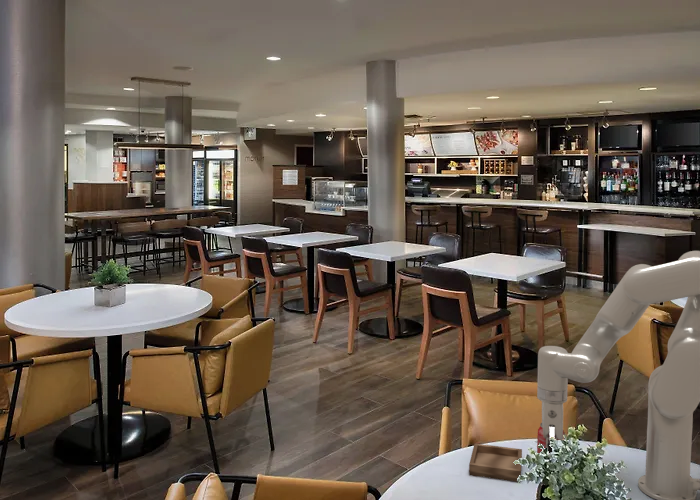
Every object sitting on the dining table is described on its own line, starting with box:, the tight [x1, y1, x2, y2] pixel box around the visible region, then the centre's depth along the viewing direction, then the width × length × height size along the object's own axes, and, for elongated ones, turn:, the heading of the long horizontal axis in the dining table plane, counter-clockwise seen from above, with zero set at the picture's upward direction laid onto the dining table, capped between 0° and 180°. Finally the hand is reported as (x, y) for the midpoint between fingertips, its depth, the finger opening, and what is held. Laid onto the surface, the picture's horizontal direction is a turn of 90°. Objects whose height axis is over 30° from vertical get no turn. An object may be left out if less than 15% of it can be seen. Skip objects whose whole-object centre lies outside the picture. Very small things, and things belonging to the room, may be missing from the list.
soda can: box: [536, 422, 566, 454], centre depth 152 cm, size 7×7×12 cm
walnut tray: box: [468, 443, 523, 483], centre depth 153 cm, size 13×13×3 cm
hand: (550, 456), depth 152 cm, fingers closed on soda can, 7 cm apart
